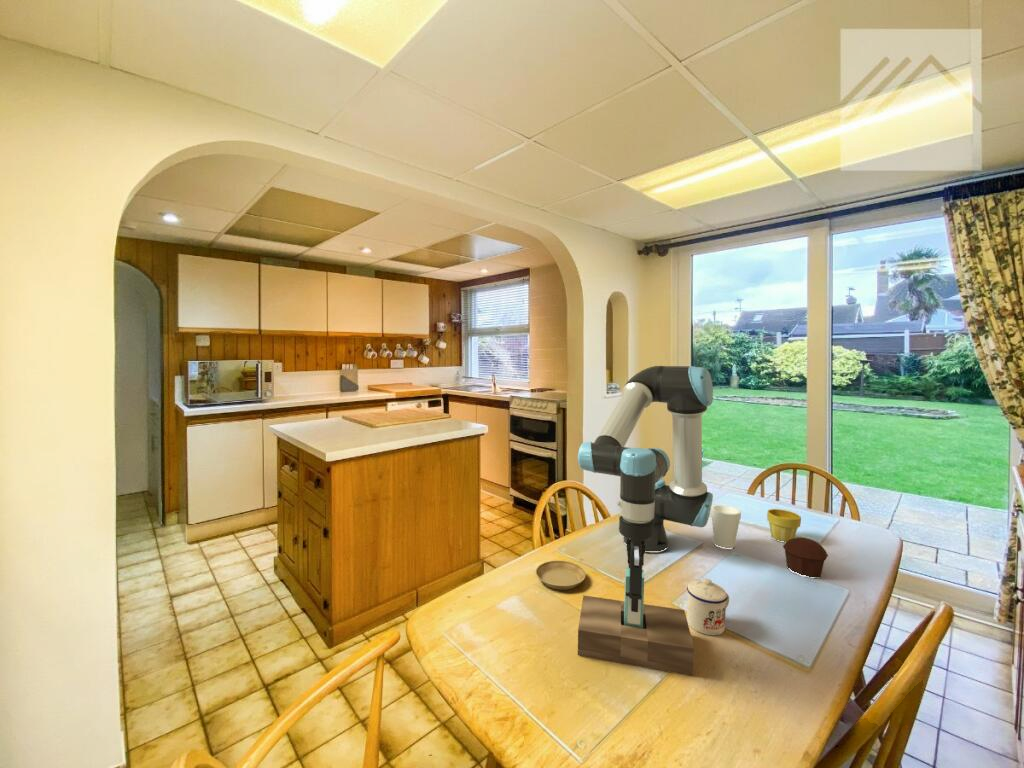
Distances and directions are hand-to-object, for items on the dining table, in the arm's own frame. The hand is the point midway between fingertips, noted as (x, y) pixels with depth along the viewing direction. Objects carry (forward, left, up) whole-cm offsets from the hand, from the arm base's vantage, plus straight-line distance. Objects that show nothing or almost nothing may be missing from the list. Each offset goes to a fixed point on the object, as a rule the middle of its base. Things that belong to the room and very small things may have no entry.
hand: (633, 615), depth 99 cm
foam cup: (-62, +33, -7) cm, 71 cm away
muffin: (-49, +53, -7) cm, 73 cm away
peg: (0, 0, -4) cm, 4 cm away
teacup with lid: (-13, +19, -7) cm, 24 cm away
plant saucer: (-24, -20, -7) cm, 32 cm away
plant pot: (-73, +55, -7) cm, 92 cm away
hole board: (0, 0, -7) cm, 7 cm away
